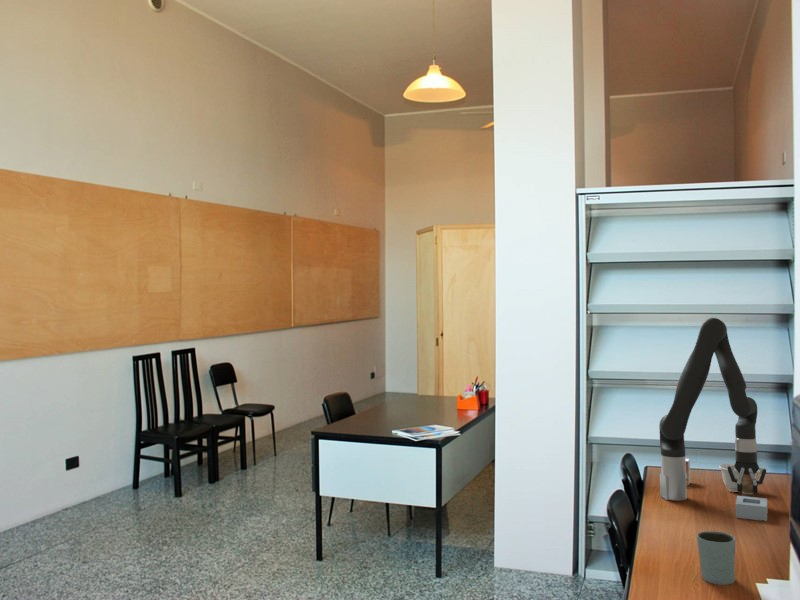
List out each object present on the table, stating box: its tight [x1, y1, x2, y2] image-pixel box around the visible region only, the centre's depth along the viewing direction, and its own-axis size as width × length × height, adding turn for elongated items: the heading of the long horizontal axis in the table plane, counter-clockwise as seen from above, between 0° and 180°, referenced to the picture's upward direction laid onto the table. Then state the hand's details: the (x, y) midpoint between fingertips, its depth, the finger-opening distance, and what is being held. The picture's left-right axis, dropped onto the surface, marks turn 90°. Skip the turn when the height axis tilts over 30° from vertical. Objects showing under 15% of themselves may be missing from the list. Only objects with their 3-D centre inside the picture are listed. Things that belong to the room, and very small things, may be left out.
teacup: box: [718, 463, 760, 493], centre depth 286 cm, size 12×15×10 cm
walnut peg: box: [740, 474, 755, 497], centre depth 267 cm, size 4×4×12 cm
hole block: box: [735, 495, 769, 522], centre depth 255 cm, size 12×10×5 cm
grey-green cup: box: [696, 530, 736, 586], centre depth 197 cm, size 10×10×12 cm
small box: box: [685, 458, 691, 486], centre depth 302 cm, size 8×6×10 cm
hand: (747, 493), depth 267 cm, fingers closed on walnut peg, 4 cm apart
